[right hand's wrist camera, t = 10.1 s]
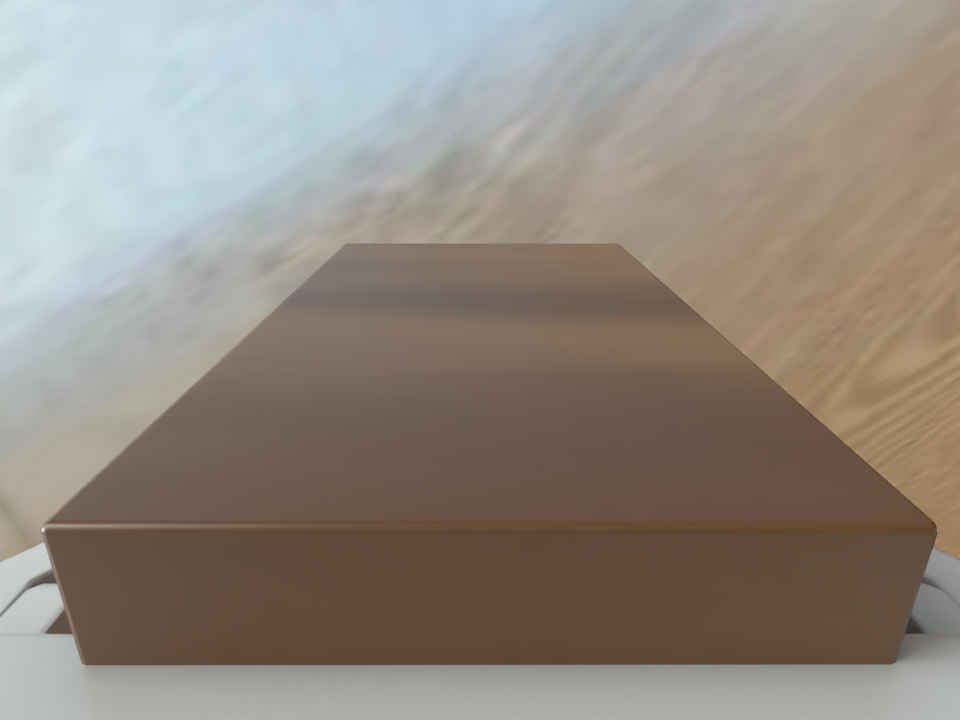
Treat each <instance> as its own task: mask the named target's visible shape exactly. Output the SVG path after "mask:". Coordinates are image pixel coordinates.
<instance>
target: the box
mask: <svg viewBox="0 0 960 720" xmlns="http://www.w3.org/2000/svg"><path fill="white" fill-rule="evenodd" d="M41 534H42V537H43V540H44V544H45V547H46V550H47V553H48V557H49V560H50V563H51V566H52V569H53V573H54V576H55V579H56V582H57V586H58V589H59V592H60V595H61V598H62V602H63V605H64V608H65V611H66V615H67V618H68V621H69V624H70V627H71V631H72V634H73V637H74V640H75V644H76V647H77V650H78V653H79V656H80V660H81V663H82V664H84V665H865V664H893V663H895V662H896V659H897V656H898V653H899V650H900V646H901V643H902V640H903V637H904V634H905V631H906V628H907V625H908V622H909V619H910V616H911V613H912V610H913V607H914V604H915V600H916V597H917V594H918V591H919V588H920V585H921V582H922V579H923V576H924V573H925V570H926V567H927V564H928V561H929V557H930V554H931V551H932V548H933V545H934V542H935V539H936V536H937V527H936V525H935V523H934V522H933V521H932V520H931V519H930V518H929V517H928V516H926V515H925V514H924V513H923V512H922V511H921V510H920V509H918V508H917V507H916V506H915V505H914V504H913V503H912V502H911V501H909V500H908V499H907V498H906V497H905V496H904V495H903V494H901V493H900V492H899V491H898V490H897V489H896V488H895V487H894V486H892V485H891V484H890V483H889V482H888V481H887V480H886V479H884V478H883V477H882V476H881V475H880V474H879V473H878V472H877V471H875V470H874V469H873V468H872V467H871V466H870V465H869V464H867V463H866V462H865V461H864V460H863V459H862V458H861V457H860V456H858V455H857V454H856V453H855V452H854V451H853V450H852V449H850V448H849V447H848V446H847V445H846V444H845V443H844V442H843V441H841V440H840V439H839V438H838V437H837V436H836V435H835V434H833V433H832V432H831V431H830V430H829V429H828V428H827V427H826V426H824V425H823V424H822V423H821V422H820V421H819V420H818V419H816V418H815V417H814V416H813V415H812V414H811V413H810V412H809V411H807V410H806V409H805V408H804V407H803V406H802V405H801V404H799V403H798V402H797V401H796V400H795V399H794V398H793V397H792V396H790V395H789V394H788V393H787V392H786V391H785V390H784V389H782V388H781V387H780V386H779V385H778V384H777V383H776V382H775V381H773V380H772V379H771V378H770V377H769V376H768V375H767V374H765V373H764V372H763V371H762V370H761V369H760V368H759V367H758V366H756V365H755V364H754V363H753V362H752V361H751V360H750V359H748V358H747V357H746V356H745V355H744V354H743V353H742V352H741V351H739V350H738V349H737V348H736V347H735V346H734V345H733V344H731V343H730V342H729V341H728V340H727V339H726V338H725V337H724V336H722V335H721V334H720V333H719V332H718V331H717V330H716V329H714V328H713V327H712V326H711V325H710V324H709V323H708V322H707V321H705V320H704V319H703V318H702V317H701V316H700V315H699V314H697V313H696V312H695V311H694V310H693V309H692V308H691V307H690V306H688V305H687V304H686V303H685V302H684V301H683V300H682V299H680V298H679V297H678V296H677V295H676V294H675V293H674V292H673V291H671V290H670V289H669V288H668V287H667V286H666V285H665V284H663V283H662V282H661V281H660V280H659V279H658V278H657V277H656V276H654V275H653V274H652V273H651V272H650V271H649V270H648V269H646V268H645V267H644V266H643V265H642V264H641V263H640V262H639V261H637V260H636V259H635V258H634V257H633V256H632V255H631V254H629V253H628V252H627V251H626V250H625V249H624V248H623V247H622V246H620V245H619V244H345V245H344V246H343V247H342V248H341V249H340V250H339V251H337V252H336V253H335V254H334V255H333V256H332V257H331V258H330V259H329V260H328V261H327V262H326V263H325V264H323V265H322V266H321V267H320V268H319V269H318V270H317V271H316V272H315V273H314V274H313V275H312V276H310V277H309V278H308V279H307V280H306V281H305V282H304V283H303V284H302V285H301V286H300V287H299V288H297V289H296V290H295V291H294V292H293V293H292V294H291V295H290V296H289V297H288V298H287V299H286V300H285V301H283V302H282V303H281V304H280V305H279V306H278V307H277V308H276V309H275V310H274V311H273V312H272V313H270V314H269V315H268V316H267V317H266V318H265V319H264V320H263V321H262V322H261V323H260V324H259V325H258V326H256V327H255V328H254V329H253V330H252V331H251V332H250V333H249V334H248V335H247V336H246V337H245V338H243V339H242V340H241V341H240V342H239V343H238V344H237V345H236V346H235V347H234V348H233V349H232V350H230V351H229V352H228V353H227V354H226V355H225V356H224V357H223V358H222V359H221V360H220V361H219V362H218V363H216V364H215V365H214V366H213V367H212V368H211V369H210V370H209V371H208V372H207V373H206V374H205V375H203V376H202V377H201V378H200V379H199V380H198V381H197V382H196V383H195V384H194V385H193V386H192V387H190V388H189V389H188V390H187V391H186V392H185V393H184V394H183V395H182V396H181V397H180V398H179V399H178V400H176V401H175V402H174V403H173V404H172V405H171V406H170V407H169V408H168V409H167V410H166V411H165V412H163V413H162V414H161V415H160V416H159V417H158V418H157V419H156V420H155V421H154V422H153V423H152V424H151V425H149V426H148V427H147V428H146V429H145V430H144V431H143V432H142V433H141V434H140V435H139V436H138V437H136V438H135V439H134V440H133V441H132V442H131V443H130V444H129V445H128V446H127V447H126V448H125V449H123V450H122V451H121V452H120V453H119V454H118V455H117V456H116V457H115V458H114V459H113V460H112V461H111V462H109V463H108V464H107V465H106V466H105V467H104V468H103V469H102V470H101V471H100V472H99V473H98V474H96V475H95V476H94V477H93V478H92V479H91V480H90V481H89V482H88V483H87V484H86V485H85V486H83V487H82V488H81V489H80V490H79V491H78V492H77V493H76V494H75V495H74V496H73V497H72V498H71V499H69V500H68V501H67V502H66V503H65V504H64V505H63V506H62V507H61V508H60V509H59V510H58V511H56V512H55V513H54V514H53V515H52V516H51V517H50V518H49V519H48V520H47V521H46V522H45V523H44V524H43V527H42V532H41Z"/></svg>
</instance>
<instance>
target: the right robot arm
mask: <svg viewBox="0 0 960 720" xmlns="http://www.w3.org/2000/svg"><path fill="white" fill-rule="evenodd" d="M0 720H960V559H959V558H956V557H954V556H952V555H950V554H947V553H945V552H943V551H941V550H939V549H936V548H934V547H933V548H932V551H931V554H930V557H929V561H928V564H927V567H926V570H925V573H924V576H923V579H922V582H921V585H920V588H919V591H918V594H917V597H916V600H915V604H914V607H913V610H912V613H911V616H910V619H909V622H908V625H907V628H906V631H905V634H904V637H903V640H902V643H901V646H900V650H899V653H898V656H897V659H896V662H895V663H893V664H865V665H84V664H82V663H81V660H80V656H79V653H78V650H77V647H76V644H75V640H74V637H73V634H72V631H71V627H70V624H69V621H68V618H67V615H66V611H65V608H64V605H63V602H62V598H61V595H60V592H59V589H58V586H57V582H56V579H55V576H54V573H53V569H52V566H51V563H50V560H49V557H48V553H47V550H46V547H45V544H44V543H42V544H40V545H38V546H36V547H33V548H31V549H29V550H27V551H25V552H22V553H20V554H18V555H16V556H14V557H11V558H9V559H7V560H5V561H3V562H1V563H0Z"/></svg>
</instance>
